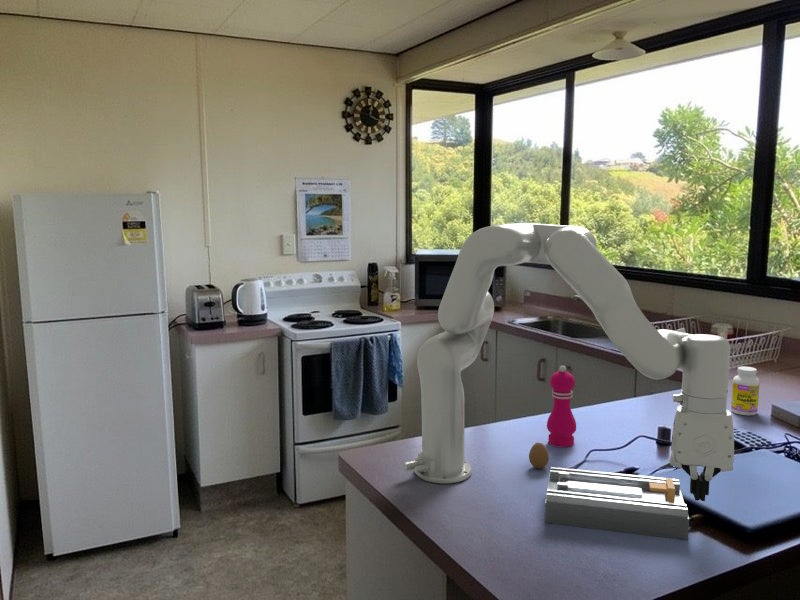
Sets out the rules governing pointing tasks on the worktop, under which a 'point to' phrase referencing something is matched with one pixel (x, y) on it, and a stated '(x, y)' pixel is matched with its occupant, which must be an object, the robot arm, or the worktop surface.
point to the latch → (665, 489)
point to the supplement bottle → (745, 392)
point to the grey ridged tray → (615, 505)
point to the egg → (538, 456)
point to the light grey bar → (603, 489)
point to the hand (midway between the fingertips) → (698, 497)
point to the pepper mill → (561, 409)
